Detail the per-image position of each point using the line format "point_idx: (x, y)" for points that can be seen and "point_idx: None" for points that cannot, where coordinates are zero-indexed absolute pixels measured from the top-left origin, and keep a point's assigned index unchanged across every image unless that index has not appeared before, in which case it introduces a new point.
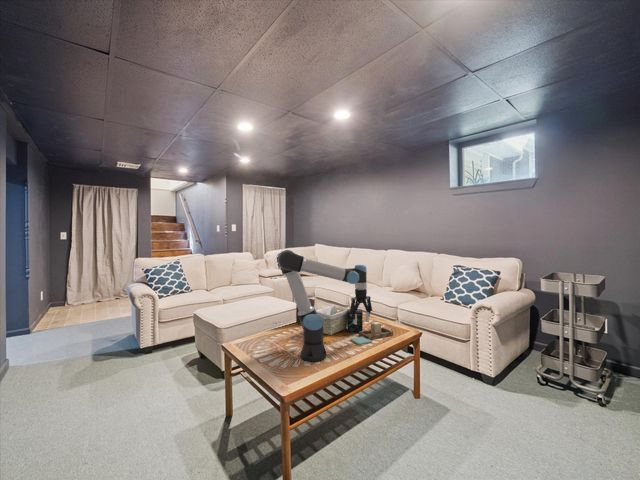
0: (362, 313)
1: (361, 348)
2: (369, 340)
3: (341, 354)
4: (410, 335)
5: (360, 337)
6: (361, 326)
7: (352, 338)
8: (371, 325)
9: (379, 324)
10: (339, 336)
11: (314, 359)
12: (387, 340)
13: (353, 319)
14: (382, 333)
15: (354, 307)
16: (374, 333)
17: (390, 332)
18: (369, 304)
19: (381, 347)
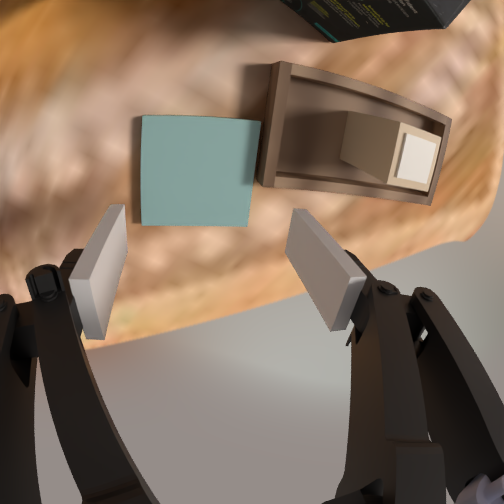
0: (438, 28)
1: (129, 267)
2: (240, 212)
3: (15, 281)
4: (449, 240)
5: (227, 130)
6: (349, 33)
7: (159, 118)
8: (386, 127)
9: (415, 187)
10: (127, 12)
11: None
12: (341, 238)
13: (96, 227)
14: (377, 193)
15: (53, 403)
16: (349, 153)
17: (417, 203)
18: (427, 416)
19: (236, 298)
